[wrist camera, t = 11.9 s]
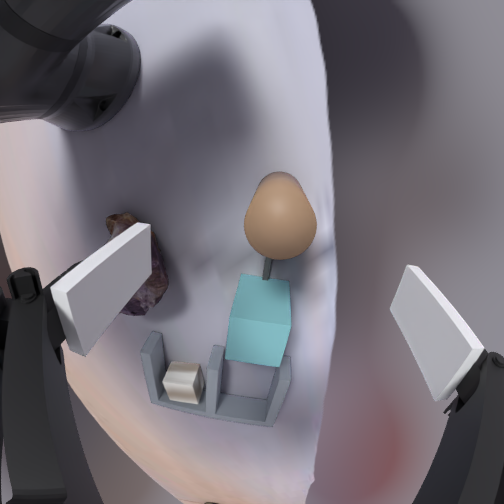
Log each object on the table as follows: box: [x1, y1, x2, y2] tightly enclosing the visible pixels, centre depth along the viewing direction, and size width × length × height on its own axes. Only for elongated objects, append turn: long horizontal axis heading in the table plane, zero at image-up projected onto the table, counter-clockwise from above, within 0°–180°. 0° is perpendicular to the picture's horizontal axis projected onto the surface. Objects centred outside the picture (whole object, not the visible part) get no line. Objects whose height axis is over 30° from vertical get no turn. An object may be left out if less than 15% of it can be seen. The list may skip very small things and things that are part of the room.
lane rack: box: [140, 331, 291, 427], centre depth 39 cm, size 14×22×5 cm, turn 82°
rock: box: [106, 212, 169, 316], centre depth 30 cm, size 12×9×10 cm
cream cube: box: [162, 361, 204, 404], centre depth 40 cm, size 5×5×5 cm
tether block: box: [225, 172, 317, 367], centre depth 27 cm, size 19×6×12 cm, turn 172°
